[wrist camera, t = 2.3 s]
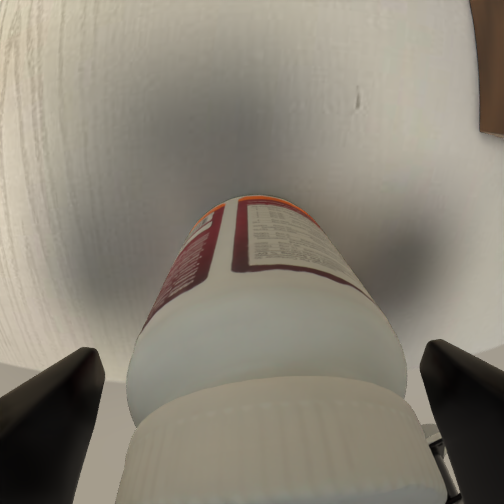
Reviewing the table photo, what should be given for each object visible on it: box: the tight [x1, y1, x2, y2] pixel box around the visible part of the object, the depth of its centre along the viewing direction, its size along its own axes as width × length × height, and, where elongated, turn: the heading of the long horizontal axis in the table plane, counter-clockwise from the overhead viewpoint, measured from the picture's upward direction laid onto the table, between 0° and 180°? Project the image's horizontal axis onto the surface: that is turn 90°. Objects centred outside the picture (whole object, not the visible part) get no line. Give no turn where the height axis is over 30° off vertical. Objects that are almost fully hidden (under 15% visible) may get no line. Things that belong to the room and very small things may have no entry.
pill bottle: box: [115, 195, 447, 504], centre depth 8 cm, size 6×6×11 cm
